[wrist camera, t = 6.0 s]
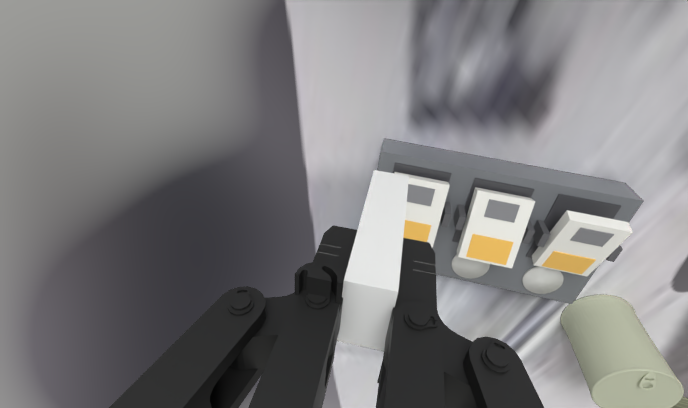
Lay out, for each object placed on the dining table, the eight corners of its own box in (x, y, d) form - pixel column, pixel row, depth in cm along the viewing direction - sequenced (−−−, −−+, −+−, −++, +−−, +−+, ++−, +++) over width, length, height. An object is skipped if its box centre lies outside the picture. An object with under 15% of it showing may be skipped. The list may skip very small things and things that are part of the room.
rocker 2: (566, 210, 36) (570, 220, 35) (628, 222, 36) (633, 233, 35) (531, 255, 42) (533, 266, 41) (583, 266, 41) (587, 277, 40)
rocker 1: (394, 171, 40) (394, 175, 38) (448, 182, 39) (449, 185, 38) (381, 235, 42) (380, 240, 41) (430, 245, 42) (431, 251, 40)
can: (645, 298, 48) (704, 381, 38) (619, 342, 53) (665, 426, 43) (571, 290, 49) (609, 368, 39) (552, 333, 54) (581, 412, 44)
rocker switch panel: (384, 138, 43) (378, 161, 37) (625, 183, 40) (658, 215, 35) (364, 239, 52) (357, 271, 46) (562, 282, 49) (580, 321, 43)
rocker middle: (475, 187, 39) (478, 190, 38) (530, 197, 38) (535, 201, 37) (456, 252, 41) (458, 257, 40) (508, 263, 41) (512, 269, 39)
